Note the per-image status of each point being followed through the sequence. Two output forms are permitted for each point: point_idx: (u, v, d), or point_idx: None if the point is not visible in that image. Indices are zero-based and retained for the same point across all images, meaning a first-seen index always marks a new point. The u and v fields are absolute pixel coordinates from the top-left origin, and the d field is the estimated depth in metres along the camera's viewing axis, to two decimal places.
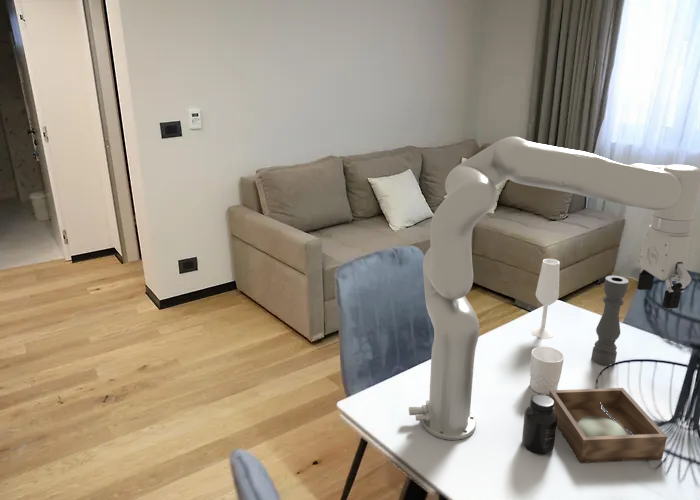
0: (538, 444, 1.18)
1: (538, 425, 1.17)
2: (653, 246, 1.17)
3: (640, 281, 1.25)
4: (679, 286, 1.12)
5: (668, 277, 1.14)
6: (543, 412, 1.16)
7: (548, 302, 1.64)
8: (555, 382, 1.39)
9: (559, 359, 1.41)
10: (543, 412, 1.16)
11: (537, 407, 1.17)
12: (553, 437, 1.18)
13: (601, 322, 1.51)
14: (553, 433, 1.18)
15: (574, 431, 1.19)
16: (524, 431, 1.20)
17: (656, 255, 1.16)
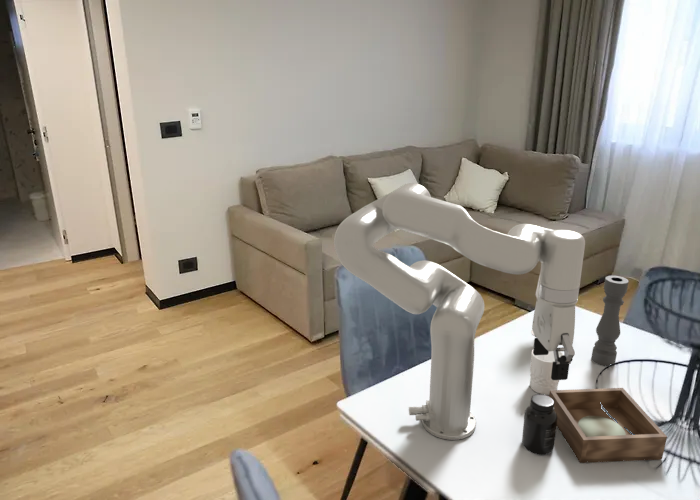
0: (538, 444, 1.18)
1: (538, 425, 1.17)
2: (541, 314, 1.11)
3: (535, 346, 1.19)
4: (564, 359, 1.06)
5: (554, 348, 1.08)
6: (543, 412, 1.16)
7: None
8: (555, 382, 1.39)
9: None
10: (543, 412, 1.16)
11: (537, 407, 1.17)
12: (553, 437, 1.18)
13: (601, 322, 1.51)
14: (553, 433, 1.18)
15: (574, 431, 1.19)
16: (524, 431, 1.20)
17: (543, 324, 1.10)
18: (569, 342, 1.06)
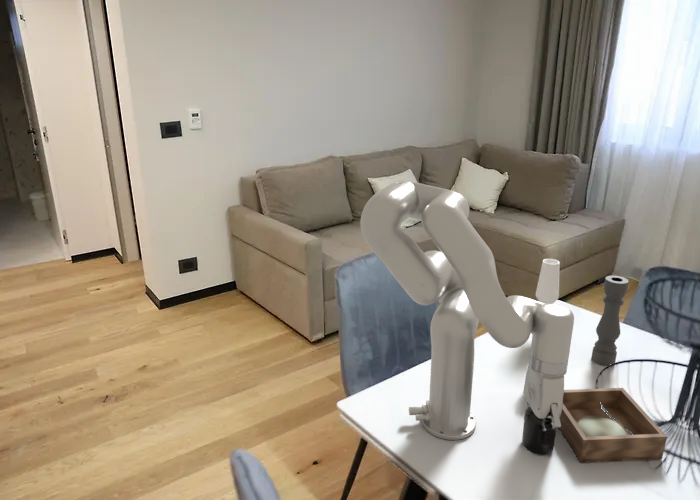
0: (538, 444, 1.18)
1: (538, 425, 1.17)
2: (532, 382, 1.17)
3: None
4: (550, 428, 1.13)
5: (544, 416, 1.13)
6: None
7: (548, 302, 1.64)
8: None
9: None
10: None
11: None
12: None
13: (601, 322, 1.51)
14: None
15: (574, 431, 1.19)
16: (524, 431, 1.20)
17: (534, 392, 1.16)
18: (557, 414, 1.12)
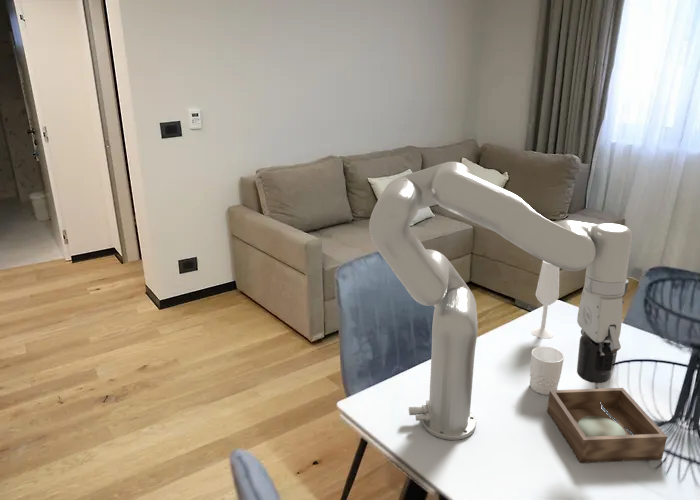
0: (595, 371, 1.15)
1: (595, 350, 1.13)
2: (588, 306, 1.13)
3: None
4: (608, 351, 1.09)
5: (601, 340, 1.10)
6: None
7: (548, 302, 1.64)
8: (555, 382, 1.39)
9: (559, 359, 1.41)
10: None
11: None
12: None
13: None
14: None
15: (574, 431, 1.19)
16: (579, 359, 1.17)
17: (590, 316, 1.12)
18: (616, 336, 1.08)
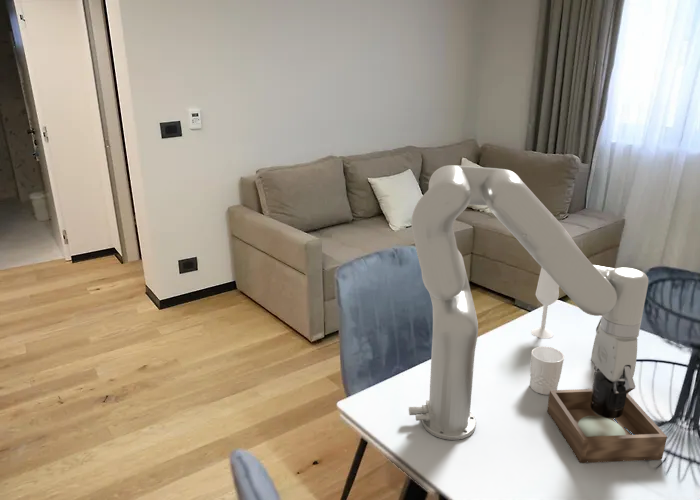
0: (608, 408, 1.19)
1: (609, 388, 1.18)
2: (603, 345, 1.18)
3: None
4: (623, 390, 1.14)
5: (616, 379, 1.15)
6: None
7: (548, 302, 1.64)
8: (555, 382, 1.39)
9: (559, 359, 1.41)
10: None
11: None
12: None
13: None
14: None
15: (574, 431, 1.19)
16: (594, 395, 1.22)
17: (605, 355, 1.17)
18: (630, 376, 1.13)
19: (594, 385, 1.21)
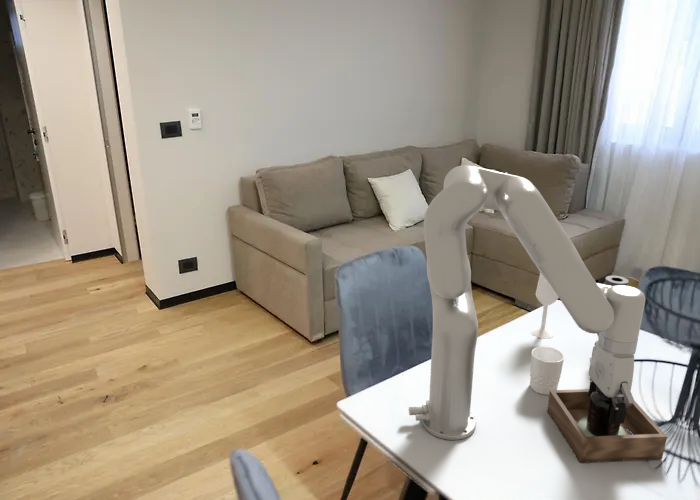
0: (604, 428, 1.21)
1: (605, 409, 1.19)
2: (600, 362, 1.19)
3: (590, 390, 1.27)
4: (623, 406, 1.14)
5: (613, 395, 1.16)
6: None
7: (548, 302, 1.64)
8: (555, 382, 1.39)
9: (559, 359, 1.41)
10: (611, 397, 1.19)
11: None
12: None
13: None
14: None
15: (574, 431, 1.19)
16: (590, 416, 1.23)
17: (603, 371, 1.18)
18: (628, 391, 1.14)
19: (590, 406, 1.23)
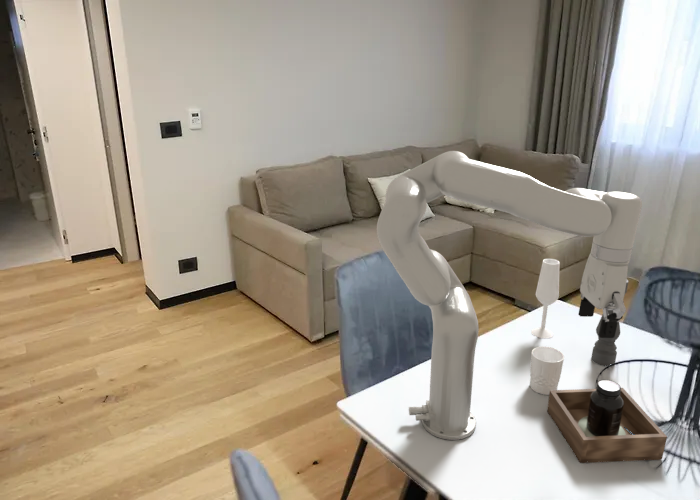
0: (604, 428, 1.21)
1: (605, 409, 1.19)
2: (592, 273, 1.15)
3: (581, 308, 1.22)
4: (614, 316, 1.10)
5: (604, 306, 1.12)
6: (610, 397, 1.19)
7: (548, 302, 1.64)
8: (555, 382, 1.39)
9: (559, 359, 1.41)
10: (611, 397, 1.19)
11: (604, 392, 1.19)
12: (619, 421, 1.21)
13: None
14: (619, 417, 1.21)
15: (574, 431, 1.19)
16: (590, 416, 1.23)
17: (594, 283, 1.14)
18: (620, 300, 1.09)
19: (590, 406, 1.23)
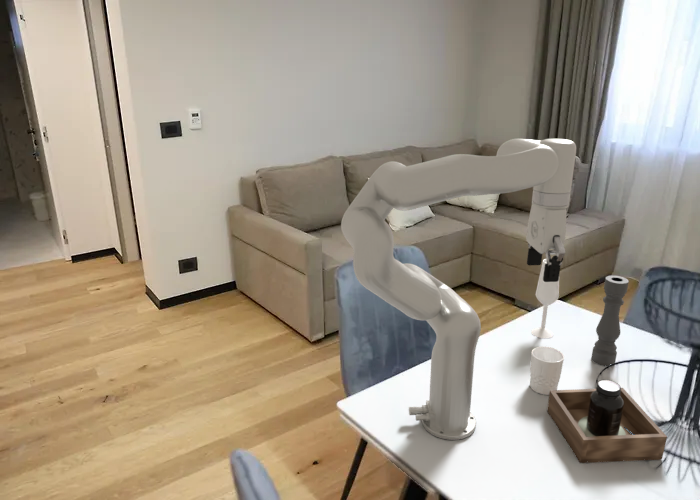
0: (604, 428, 1.21)
1: (605, 409, 1.19)
2: (535, 220, 1.18)
3: (529, 256, 1.26)
4: (555, 259, 1.13)
5: (546, 250, 1.15)
6: (610, 397, 1.19)
7: (548, 302, 1.64)
8: (555, 382, 1.39)
9: (559, 359, 1.41)
10: (611, 397, 1.19)
11: (604, 392, 1.19)
12: (619, 421, 1.21)
13: (601, 322, 1.51)
14: (619, 417, 1.21)
15: (574, 431, 1.19)
16: (590, 416, 1.23)
17: (537, 229, 1.17)
18: (560, 242, 1.13)
19: (590, 406, 1.23)
